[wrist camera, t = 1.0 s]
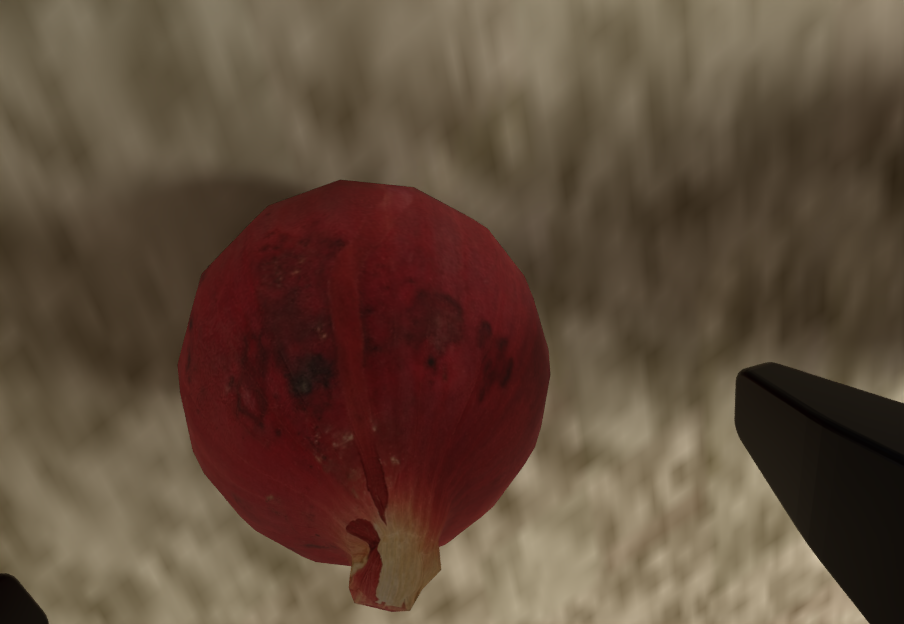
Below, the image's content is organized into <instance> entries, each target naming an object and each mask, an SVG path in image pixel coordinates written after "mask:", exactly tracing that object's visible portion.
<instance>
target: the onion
mask: <svg viewBox="0 0 904 624" xmlns="http://www.w3.org/2000/svg"><path fill="white" fill-rule="evenodd" d="M177 366H178V376H179V385H180V394H181V399H182V403H183V408H184V412H185V417H186V422H187V426H188V431H189V435H190V440H191V444H192V449H193V452H194V454H195V456H196V458H197V460H198V462H199V464H200V466H201V468H202V470H203V472H204V474H205V475H206V476H207V477H208V479H209V480H210V481H211V482H212V483H213V485H214V486H215V487H216V488H217V489H218V490H219V492H220V493H221V494H222V495H223V496H224V498H225V499H226V500H227V501H228V502H229V504H230V505H231V506H232V507H233V508H234V509H235V511H236V512H237V513H238V514H239V515H240V517H241V518H242V519H244V520H245V521H246V522H247V523H248V524H249V525H250V526H251V527H252V528H253V529H254V530H256V531H257V532H259V533H261V534H263V535H265V536H266V537H268V538H270V539H272V540H274V541H275V542H277V543H279V544H281V545H283V546H285V547H286V548H288V549H290V550H292V551H294V552H295V553H297V554H299V555H301V556H303V557H305V558H308V559H310V560H312V561H315V562H321V563H329V564H338V565H346V566H351V572H350V580H349V589H350V592H351V595H352V598H353V600H354V603H357V604H361V605H365V606H370V607H374V608H378V609H382V610H387V611H391V612H396V611H410V610H411V608H412V606H413V604H414V603H415V601H416V599H417V598H418V596H419V594H420V592H421V591H422V589H423V588H424V587H425V586H426V585H427V584H428V583H429V582H430V581H431V580H432V579H433V578H434V577H435V576H436V575H437V573H438V572H439V571H440V570H441V563H440V552H439V547H440V546H443V545H445V544H447V543H448V542H449V541H451V540H452V539H454V538H455V537H456V536H457V535H458V534H460V533H461V532H462V531H464V530H465V529H466V528H467V527H469V526H470V525H471V524H473V523H474V522H475V521H477V520H478V519H479V518H481V517H482V516H483V515H484V514H485V513H486V512H487V511H489V510H490V509H491V508H492V507H493V506H494V505H495V504H496V502H497V501H498V500H499V498H500V497H501V495H502V494H503V493H504V491H505V490H506V489H507V487H508V486H509V485H510V483H511V482H512V481H513V479H514V478H515V477H516V475H517V474H518V473H519V471H520V470H521V468H522V467H523V466H524V464H525V463H526V461H527V459H528V458H529V456H530V454H531V453H532V451H533V449H534V448H535V445H536V442H537V439H538V435H539V432H540V429H541V424H542V419H543V413H544V407H545V402H546V396H547V390H548V385H549V379H550V363H549V350H548V347H547V343H546V340H545V336H544V333H543V329H542V326H541V323H540V319H539V316H538V312H537V309H536V306H535V302H534V299H533V296H532V294H531V291H530V289H529V286H528V284H527V282H526V279H525V277H524V275H523V274H522V272H521V271H520V270H519V268H518V267H517V266H516V265H515V263H514V262H513V261H512V259H511V258H510V257H509V256H508V254H507V253H506V252H505V250H504V249H503V248H502V247H501V245H500V244H499V243H498V241H497V240H496V239H495V238H494V236H493V235H492V234H491V232H490V231H489V230H488V229H487V228H486V227H484V226H483V225H481V224H480V223H478V222H477V221H475V220H473V219H472V218H470V217H468V216H466V215H465V214H463V213H461V212H459V211H457V210H455V209H453V208H451V207H450V206H448V205H446V204H444V203H442V202H440V201H438V200H436V199H435V198H433V197H431V196H429V195H427V194H425V193H423V192H422V191H420V190H418V189H416V188H414V187H406V186H396V185H386V184H377V183H367V182H357V181H347V180H338V181H335V182H332V183H330V184H327V185H324V186H321V187H319V188H316V189H313V190H310V191H307V192H305V193H302V194H299V195H296V196H294V197H291V198H288V199H285V200H282V201H280V202H277V203H274V204H271V205H269V206H267V207H266V208H265V209H264V210H263V211H262V212H261V213H260V214H259V215H258V216H257V217H256V218H255V219H254V220H253V221H252V222H251V223H250V224H249V225H248V226H247V227H246V228H245V229H244V230H243V231H242V232H241V233H240V234H239V235H238V237H237V238H236V239H235V240H234V241H233V242H232V243H231V244H230V245H229V246H228V247H227V248H226V249H225V250H224V251H223V252H222V253H221V254H220V255H219V256H218V257H217V258H216V259H215V260H214V261H213V262H212V263H211V264H210V265H209V266H208V268H207V269H206V270H205V271H204V272H203V273H202V274H201V278H200V281H199V285H198V289H197V292H196V296H195V299H194V303H193V307H192V311H191V315H190V319H189V322H188V326H187V330H186V334H185V338H184V342H183V346H182V349H181V353H180V357H179V361H178V365H177Z"/></svg>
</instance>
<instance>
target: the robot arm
mask: <svg viewBox="0 0 904 624" xmlns="http://www.w3.org/2000/svg"><path fill="white" fill-rule="evenodd" d="M734 419H735V427H736V430H737V433H738V436H739V438H740V440H741V441H742V443H743V445H744V446H745V448H746V449H747V451H748V452H749V454H750V456H751V457H752V459H753V460H754V462H755V463H756V465H757V467H758V468H759V470H760V471H761V473H762V474H763V476H764V478H765V479H766V481H767V482H768V484H769V485H770V487H771V489H772V490H773V492H774V493H775V495H776V496H777V498H778V500H779V501H780V503H781V504H782V506H783V507H784V509H785V511H786V512H787V514H788V515H789V517H790V518H791V520H792V522H793V523H794V525H795V526H796V528H797V529H798V531H799V532H800V534H801V535H802V537H803V538H804V540H805V541H806V543H807V544H808V545H809V547H810V548H811V549H812V551H813V552H814V553H815V555H816V556H817V557H818V559H819V560H820V561H821V563H822V564H823V565H824V566H825V568H826V569H827V570H828V572H829V573H830V574H831V575H832V577H833V578H834V579H835V580H836V582H837V583H838V584H839V585H840V587H841V588H842V589H843V591H844V592H845V593H846V594H847V596H848V597H849V598H850V599H851V601H852V602H853V603H854V604H855V606H856V607H857V608H858V610H859V611H860V612H861V613H862V615H863V616H864V617H865V618H866V620H867V621H868V622H869V623H870V624H904V403H901V402H897V401H894V400H891V399H888V398H885V397H882V396H879V395H875V394H872V393H869V392H866V391H863V390H860V389H856V388H853V387H850V386H847V385H844V384H841V383H837V382H834V381H831V380H828V379H825V378H822V377H818V376H815V375H812V374H809V373H806V372H803V371H800V370H796V369H793V368H790V367H787V366H784V365H781V364H777V363H773V362H768V363H763V364H759V365H756V366H752V367H748V368H745V369H743V370H741V371H740V372H739V373H738V375H737V377H736V389H735V418H734ZM0 624H49V623H48V619H47V616H46V614H45V613H44V611H43V610H42V609H41V608H40V606H39V605H38V604H37V603H36V602H35V600H34V599H33V598H32V597H31V595H30V594H29V593H28V592H27V591H26V589H25V588H24V587H23V586H22V585H21V583H20V582H19V581H18V580H17V579H16V578H15V577H14V576H12V575H10V574H7V573H4V574H3V573H1V574H0Z"/></svg>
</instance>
